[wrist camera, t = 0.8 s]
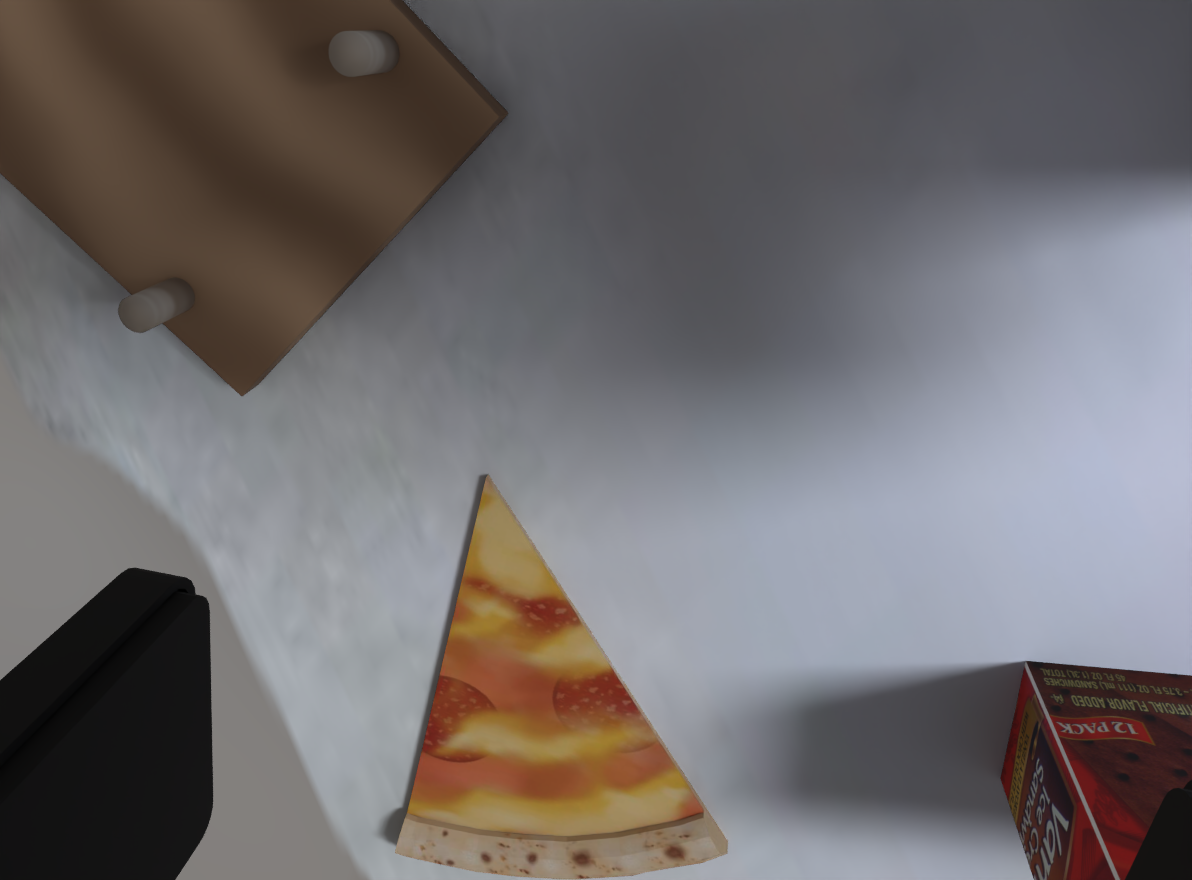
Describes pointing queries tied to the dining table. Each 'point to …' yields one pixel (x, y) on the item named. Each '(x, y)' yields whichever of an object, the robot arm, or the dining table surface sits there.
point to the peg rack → (232, 152)
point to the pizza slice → (541, 737)
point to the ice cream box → (1093, 764)
